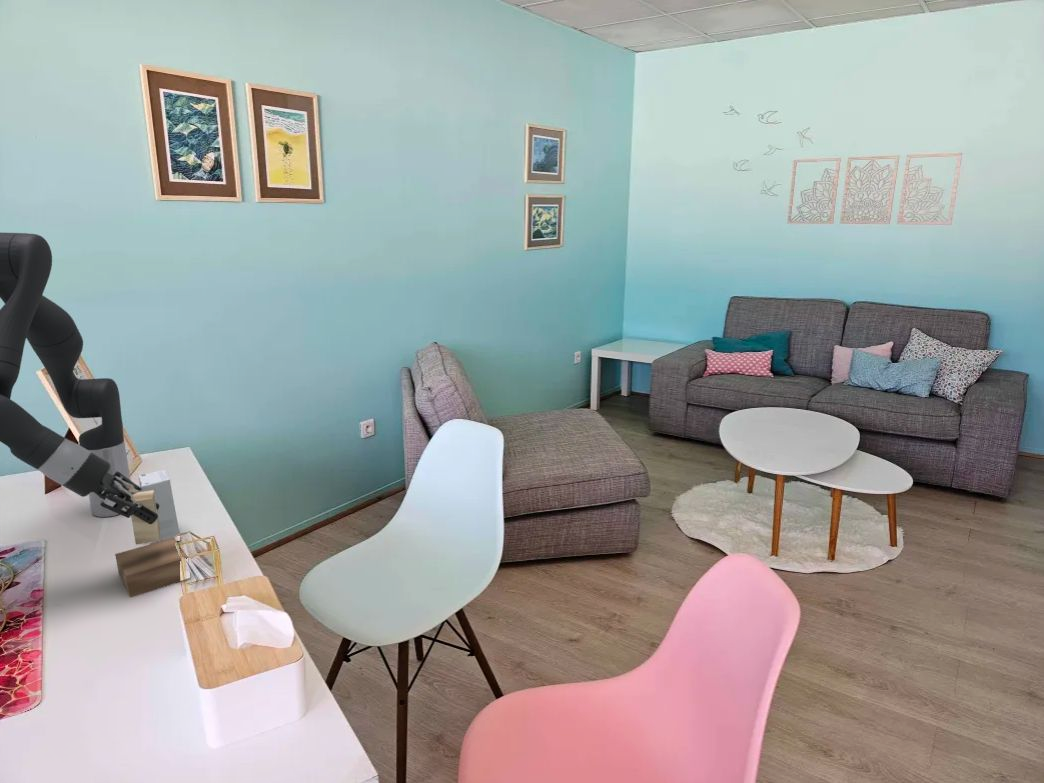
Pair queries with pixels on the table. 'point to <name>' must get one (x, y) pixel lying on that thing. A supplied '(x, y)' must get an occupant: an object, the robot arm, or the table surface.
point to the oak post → (140, 527)
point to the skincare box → (162, 502)
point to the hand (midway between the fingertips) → (155, 514)
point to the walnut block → (150, 566)
